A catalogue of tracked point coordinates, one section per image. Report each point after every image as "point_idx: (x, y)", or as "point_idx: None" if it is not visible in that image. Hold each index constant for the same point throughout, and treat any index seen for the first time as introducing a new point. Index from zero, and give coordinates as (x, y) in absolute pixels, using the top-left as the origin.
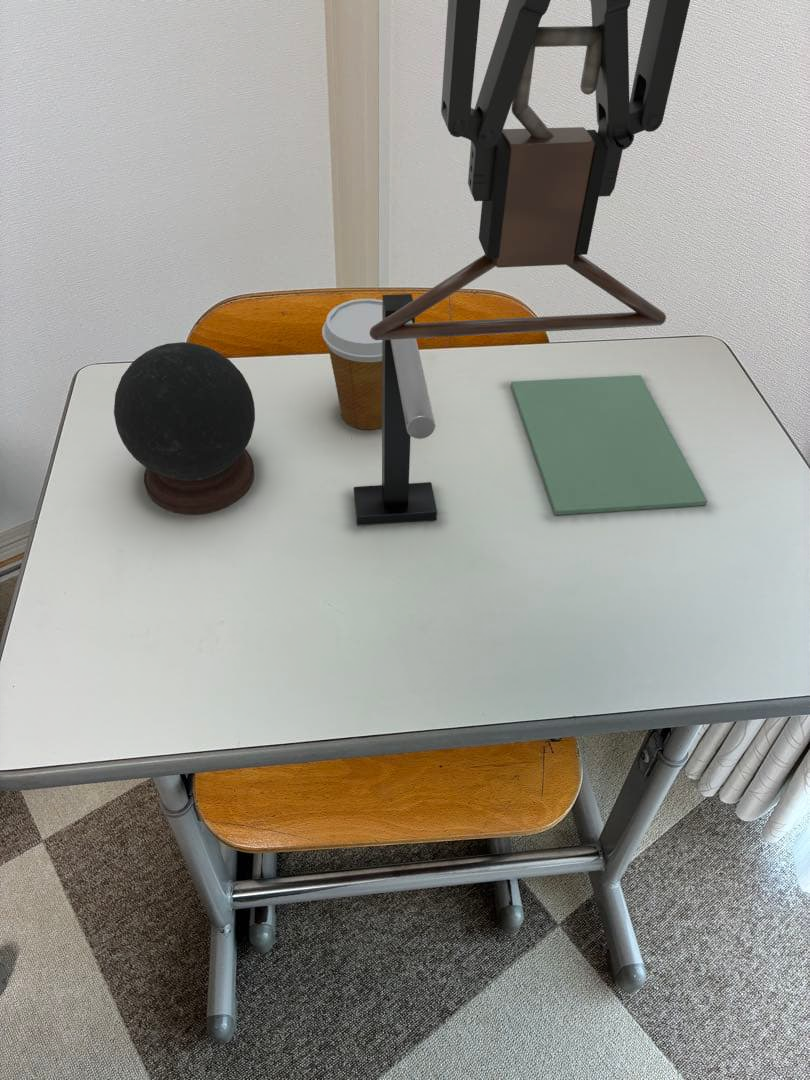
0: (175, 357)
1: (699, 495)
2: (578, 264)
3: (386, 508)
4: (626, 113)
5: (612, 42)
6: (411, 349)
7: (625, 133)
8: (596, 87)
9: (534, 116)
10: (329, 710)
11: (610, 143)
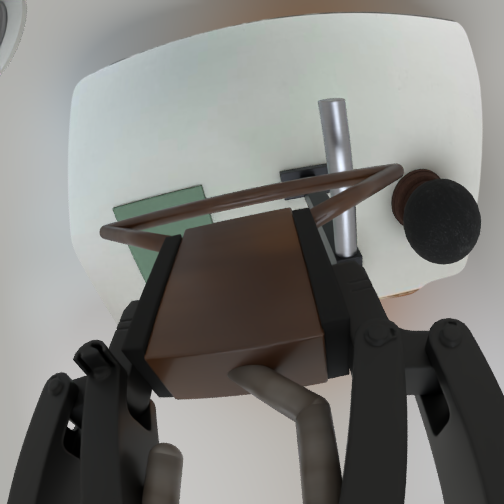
0: (463, 241)
1: (116, 213)
2: None
3: (313, 173)
4: (89, 401)
5: None
6: None
7: (92, 369)
8: None
9: (276, 400)
10: (333, 29)
11: (123, 363)
